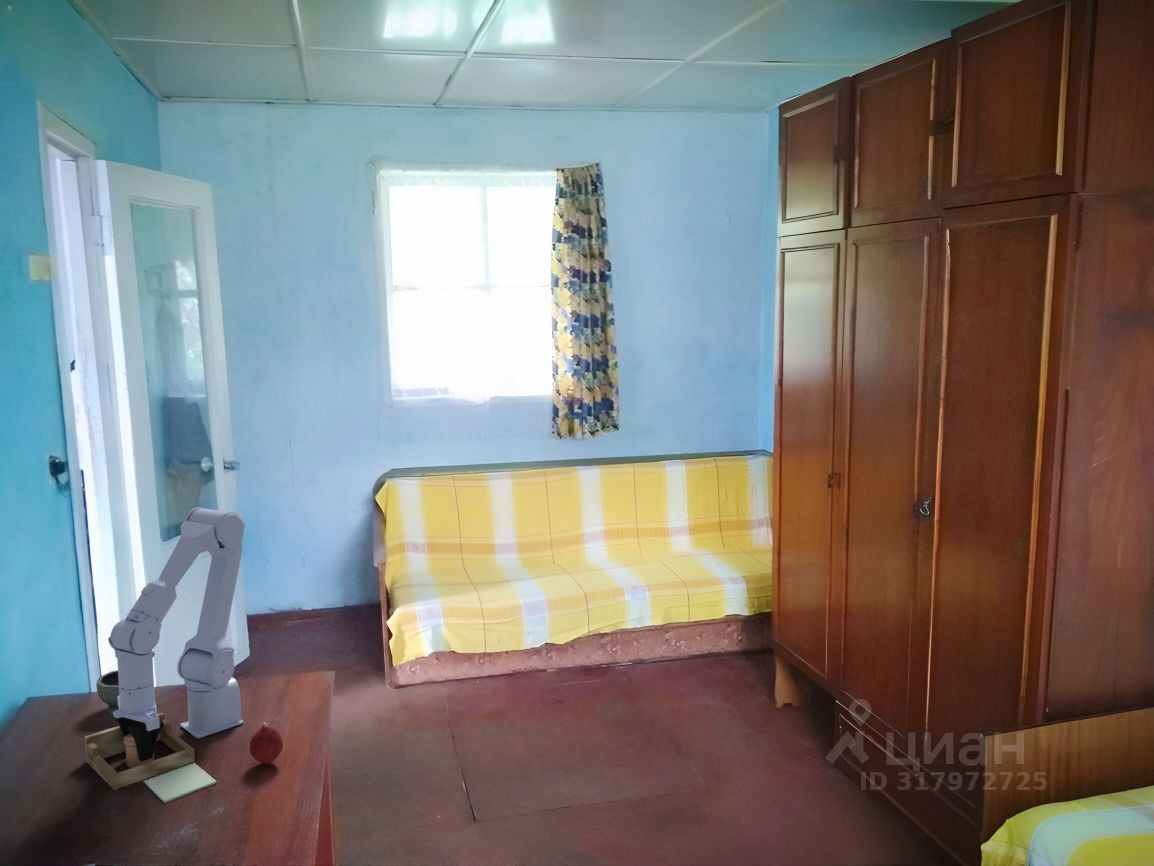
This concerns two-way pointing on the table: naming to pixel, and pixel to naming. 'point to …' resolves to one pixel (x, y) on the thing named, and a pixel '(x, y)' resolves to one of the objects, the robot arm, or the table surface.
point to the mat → (179, 782)
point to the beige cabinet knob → (133, 752)
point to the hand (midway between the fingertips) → (140, 753)
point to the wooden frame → (113, 743)
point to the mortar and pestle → (110, 689)
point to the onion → (266, 744)
